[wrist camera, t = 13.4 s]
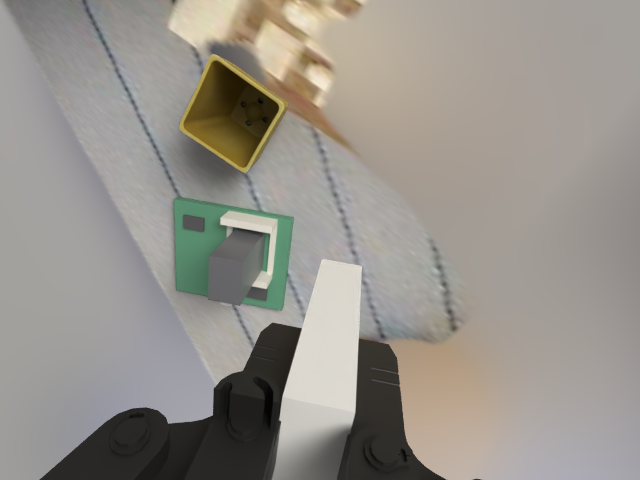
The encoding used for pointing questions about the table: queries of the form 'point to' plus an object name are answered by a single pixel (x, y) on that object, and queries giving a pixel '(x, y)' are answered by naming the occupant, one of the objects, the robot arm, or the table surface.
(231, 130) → the flower pot
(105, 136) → the table surface
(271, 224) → the board
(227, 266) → the plug
